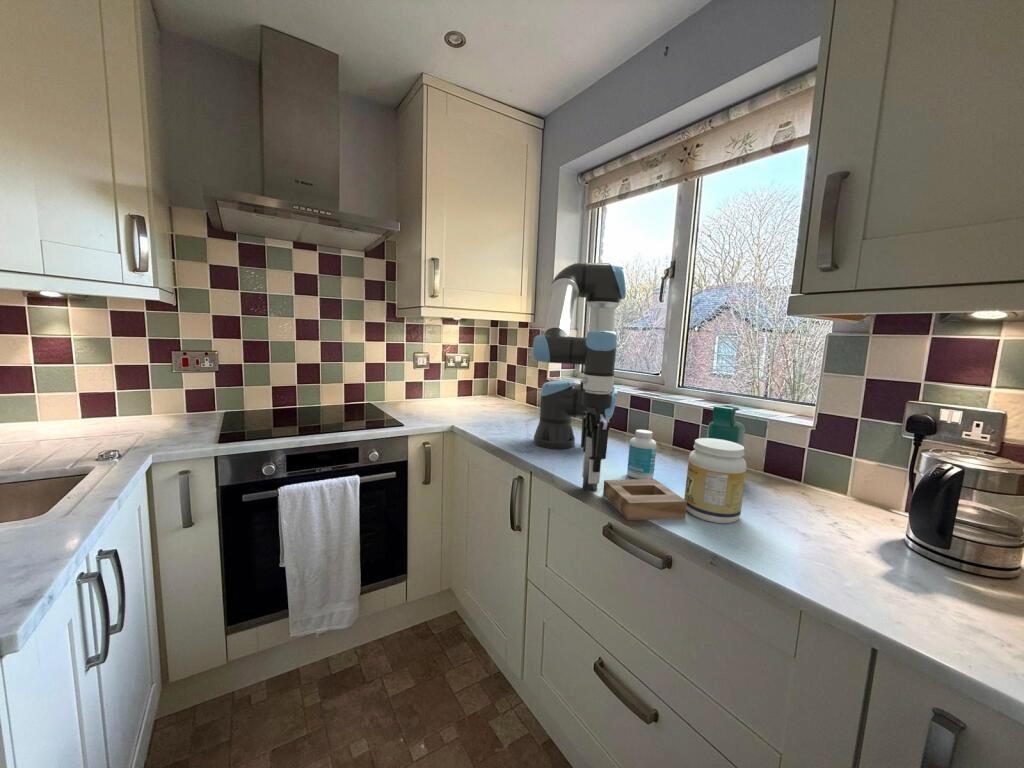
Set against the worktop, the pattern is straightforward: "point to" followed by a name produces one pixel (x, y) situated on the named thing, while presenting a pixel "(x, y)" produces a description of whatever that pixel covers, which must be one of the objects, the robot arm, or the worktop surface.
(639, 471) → the pill bottle
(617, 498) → the slot block
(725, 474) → the supplement tub
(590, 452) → the pin
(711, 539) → the worktop surface
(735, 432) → the green bottle
